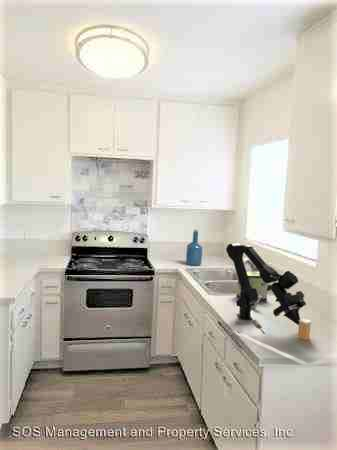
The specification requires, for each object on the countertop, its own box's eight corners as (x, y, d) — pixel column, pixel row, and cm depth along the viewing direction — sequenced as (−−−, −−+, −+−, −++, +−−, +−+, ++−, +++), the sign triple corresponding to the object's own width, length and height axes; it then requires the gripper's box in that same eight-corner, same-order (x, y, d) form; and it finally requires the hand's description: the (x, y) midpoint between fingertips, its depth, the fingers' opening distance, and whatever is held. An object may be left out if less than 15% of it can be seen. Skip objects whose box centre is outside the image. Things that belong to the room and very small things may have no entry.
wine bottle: (204, 265, 310) (206, 230, 307) (195, 267, 300) (198, 231, 297) (191, 262, 318) (193, 228, 315) (182, 264, 308) (184, 229, 305)
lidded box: (297, 337, 161) (298, 319, 160) (301, 335, 163) (303, 318, 162) (304, 340, 158) (306, 322, 157) (309, 338, 160) (311, 321, 159)
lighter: (247, 307, 203) (248, 293, 202) (248, 306, 204) (249, 292, 204) (259, 310, 199) (260, 296, 198) (260, 309, 200) (262, 295, 200)
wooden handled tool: (251, 324, 177) (252, 319, 176) (256, 324, 177) (257, 319, 177) (261, 336, 163) (262, 331, 162) (266, 336, 163) (267, 331, 163)
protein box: (236, 296, 224) (238, 271, 222) (258, 295, 228) (260, 271, 226) (244, 301, 214) (246, 275, 212) (267, 300, 218) (269, 275, 216)
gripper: (281, 288, 158) (302, 320, 151) (304, 283, 170) (324, 313, 162) (264, 300, 165) (283, 332, 158) (288, 295, 177) (306, 324, 169)
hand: (300, 325), depth 162 cm, fingers closed
